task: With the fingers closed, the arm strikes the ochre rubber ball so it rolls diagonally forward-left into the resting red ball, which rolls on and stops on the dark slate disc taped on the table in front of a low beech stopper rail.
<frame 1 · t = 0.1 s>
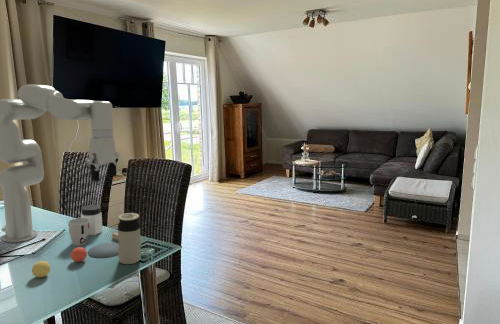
hand: (104, 178, 133), 31 cm above the table, tool pointing down, fingers open, 9 cm apart
red ball: (78, 254, 131), on the table
ochre ball: (41, 269, 119), on the table
cup: (79, 243, 147), on the table
jar: (92, 232, 160), on the table
travel mug: (130, 260, 134), on the table
beech stopper: (126, 242, 150), on the table
slate mark: (106, 250, 142), on the table
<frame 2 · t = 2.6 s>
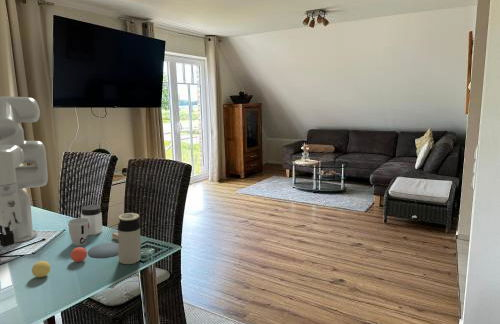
hand: (7, 244, 109), 15 cm above the table, tool pointing down, fingers closed
nothing on the table moved.
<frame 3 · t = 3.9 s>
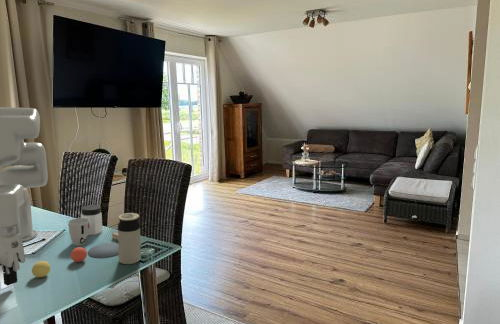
hand: (10, 283, 111), 2 cm above the table, tool pointing down, fingers closed
nothing on the table moved.
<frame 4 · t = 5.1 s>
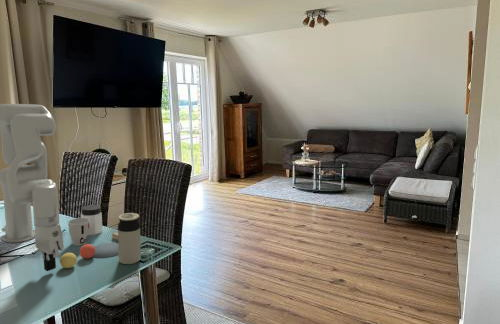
hand: (50, 269, 122), 1 cm above the table, tool pointing down, fingers closed
red ball: (87, 251, 134), on the table
ochre ball: (68, 260, 126), on the table
everything else where it was.
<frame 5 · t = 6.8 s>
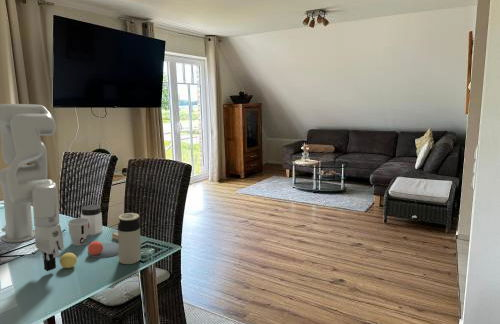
hand: (50, 269, 122), 2 cm above the table, tool pointing down, fingers closed
red ball: (95, 248, 137), on the table
everything else where it was.
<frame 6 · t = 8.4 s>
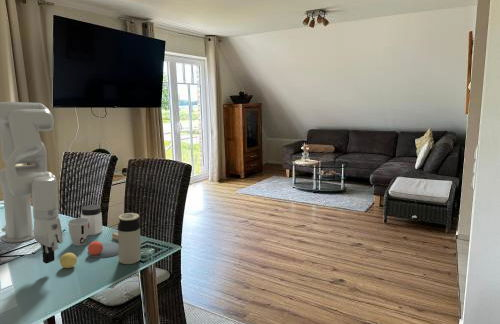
hand: (48, 261, 122), 4 cm above the table, tool pointing down, fingers closed
nothing on the table moved.
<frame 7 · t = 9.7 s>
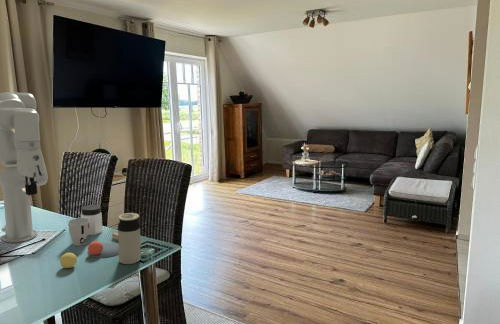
hand: (31, 194, 127), 26 cm above the table, tool pointing down, fingers closed
nothing on the table moved.
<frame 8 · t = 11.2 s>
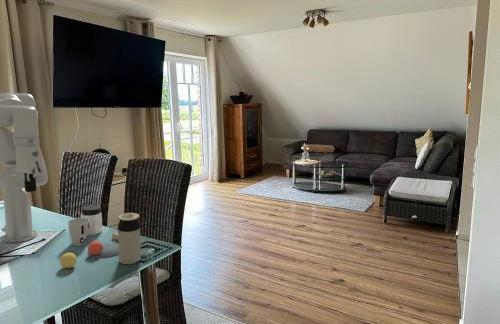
hand: (30, 191, 127), 27 cm above the table, tool pointing down, fingers closed
nothing on the table moved.
at the end: red ball 4.9 cm from the slate mark (horizontally); red ball never touched the robot; ochre ball first touched red ball at 4.7 s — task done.
